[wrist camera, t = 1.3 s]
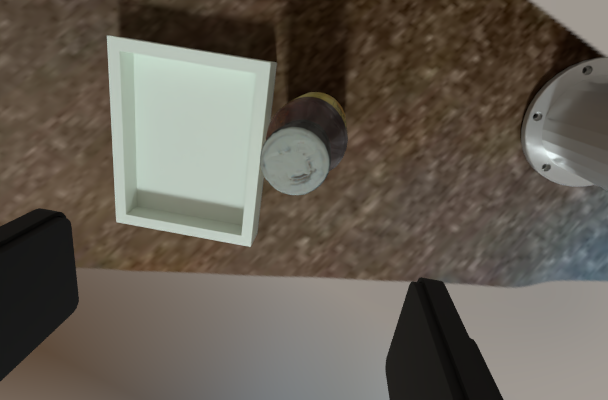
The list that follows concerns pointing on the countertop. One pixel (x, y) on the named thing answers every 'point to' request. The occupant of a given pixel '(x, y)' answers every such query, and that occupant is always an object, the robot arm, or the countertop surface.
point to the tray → (188, 138)
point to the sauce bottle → (304, 143)
